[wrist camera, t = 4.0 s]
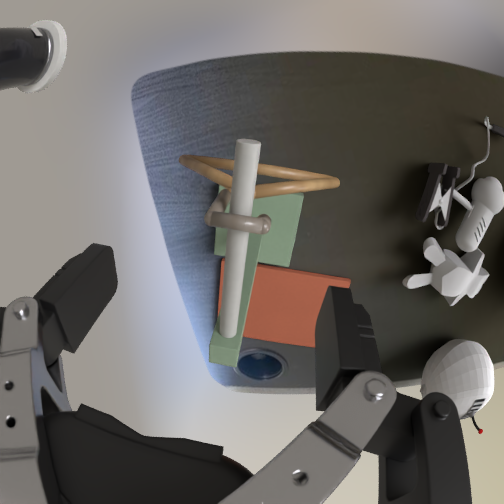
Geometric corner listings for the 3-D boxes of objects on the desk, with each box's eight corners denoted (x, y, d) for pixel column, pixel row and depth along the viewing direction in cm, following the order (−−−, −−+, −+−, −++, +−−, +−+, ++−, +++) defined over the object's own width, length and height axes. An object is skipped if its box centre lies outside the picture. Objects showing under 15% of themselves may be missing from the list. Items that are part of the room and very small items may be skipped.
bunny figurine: (472, 314, 37) (405, 304, 35) (458, 294, 41) (392, 280, 39) (504, 265, 32) (441, 242, 30) (486, 247, 36) (422, 222, 35)
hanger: (181, 162, 25) (115, 215, 16) (181, 152, 25) (114, 200, 15) (337, 186, 25) (365, 256, 15) (339, 176, 24) (370, 241, 14)
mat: (217, 328, 49) (216, 331, 48) (222, 257, 42) (221, 260, 41) (324, 345, 48) (324, 348, 48) (350, 278, 41) (350, 281, 40)
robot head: (396, 374, 51) (412, 464, 34) (426, 322, 43) (461, 423, 26) (458, 372, 50) (482, 449, 33) (491, 323, 42) (530, 406, 25)
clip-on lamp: (456, 96, 28) (403, 211, 34) (481, 88, 22) (424, 221, 28) (510, 147, 29) (463, 254, 34) (537, 148, 23) (487, 269, 28)
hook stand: (215, 250, 41) (161, 379, 23) (228, 107, 31) (141, 137, 13) (288, 262, 41) (280, 402, 22) (316, 119, 31) (355, 166, 13)
